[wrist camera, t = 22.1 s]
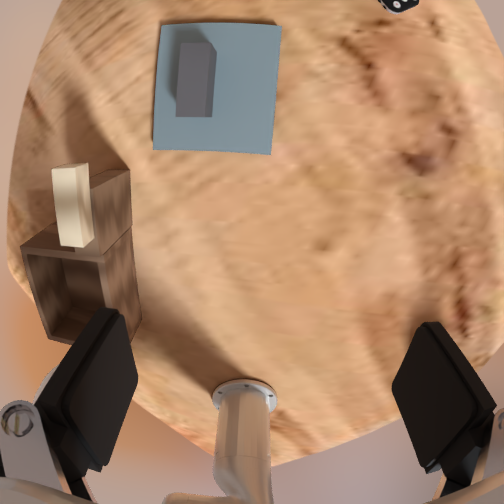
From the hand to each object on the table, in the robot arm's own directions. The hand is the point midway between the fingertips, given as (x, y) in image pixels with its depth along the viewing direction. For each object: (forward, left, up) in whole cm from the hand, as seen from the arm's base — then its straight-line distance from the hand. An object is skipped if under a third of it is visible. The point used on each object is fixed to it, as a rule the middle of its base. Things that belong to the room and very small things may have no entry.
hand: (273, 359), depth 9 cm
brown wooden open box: (-12, +24, -30) cm, 41 cm away
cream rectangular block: (-2, +19, -20) cm, 27 cm away
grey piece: (+11, +6, -31) cm, 33 cm away
